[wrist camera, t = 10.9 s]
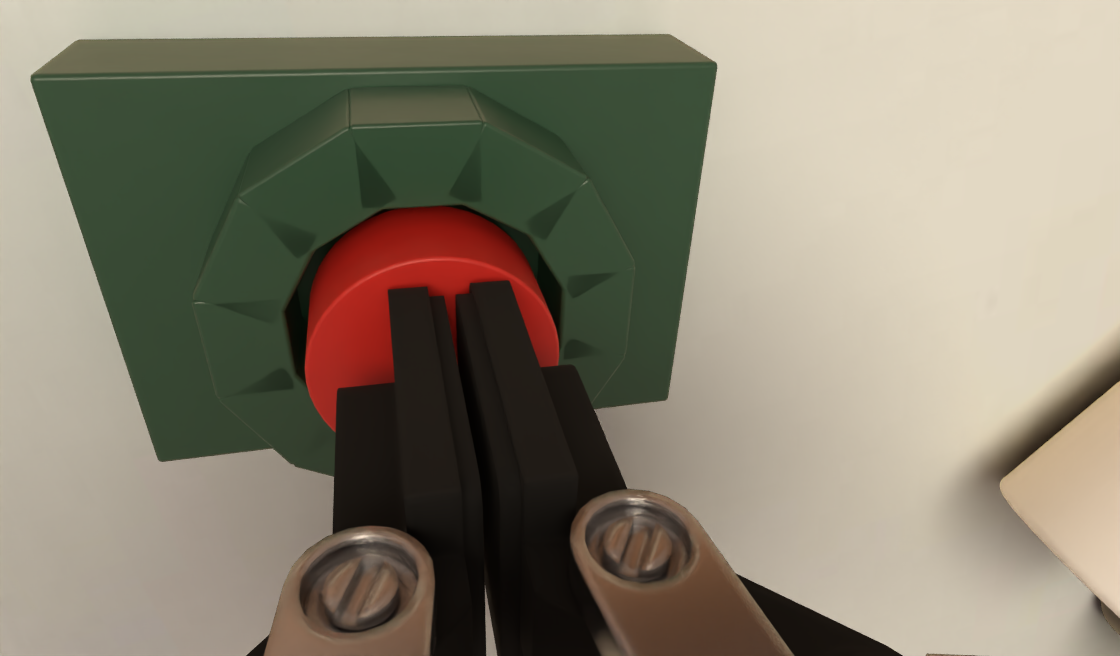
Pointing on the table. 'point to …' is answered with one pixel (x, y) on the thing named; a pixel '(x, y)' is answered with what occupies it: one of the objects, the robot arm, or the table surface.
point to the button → (405, 262)
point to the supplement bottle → (1111, 617)
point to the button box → (368, 200)
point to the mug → (1077, 496)
